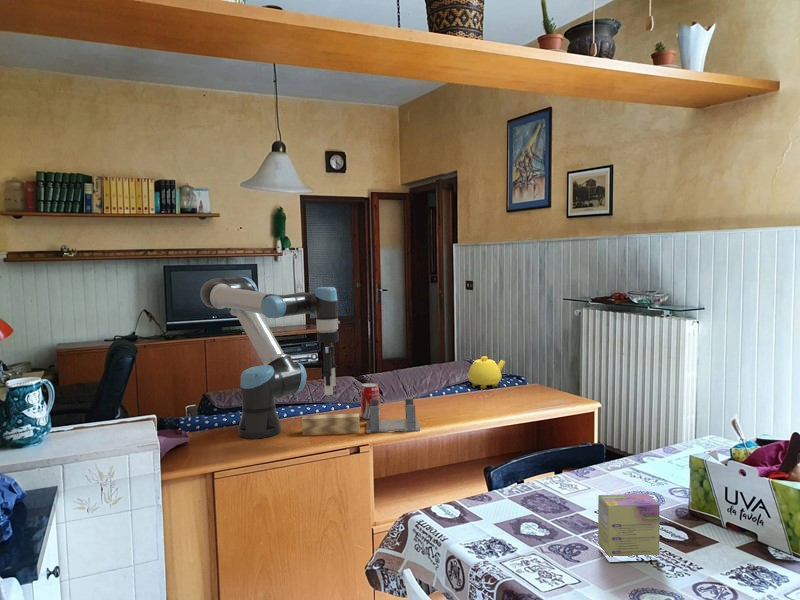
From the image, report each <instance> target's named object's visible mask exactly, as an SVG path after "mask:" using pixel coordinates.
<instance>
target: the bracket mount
mask: <svg viewBox="0 0 800 600" xmlns="http://www.w3.org/2000/svg"><path fill="white" fill-rule="evenodd" d="M404 404H405V405H404V407H405V408H404V411H405V418H401V419H400V418H396V419H395V418H394V419H380V416H379V406H378V399H370V420H367V419H366V431H365V432H366V434H372V433H373V434H374V433H375V434H376V433H377V432H380V433H390V432H389V431H404V432H420V431H421V426H420V422H419V418H418V417H417V418H416V404H414V397H405V398H404Z"/></svg>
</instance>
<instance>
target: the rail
mask: <svg viewBox="0 0 800 600" xmlns="http://www.w3.org/2000/svg"><path fill="white" fill-rule="evenodd" d="M360 422H361V421H360V413H339V414H338V413H337V414H335V413H334V414H312V415H311V414H310V415H308V414H307V415H303V416H302V419H301V423H302V424H301V425H302V426H301V427H302V428H301V430H302V436H311V435H313V436H314V435H315V436H316V435H337V434H338V435H339V434H340V435H341V434H342V435H343V434H360V430H361V428H360V427H361V424H360Z"/></svg>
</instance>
